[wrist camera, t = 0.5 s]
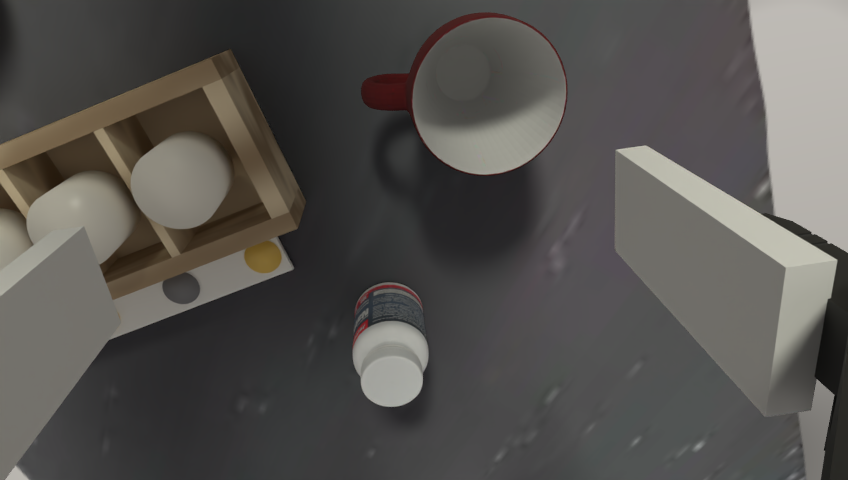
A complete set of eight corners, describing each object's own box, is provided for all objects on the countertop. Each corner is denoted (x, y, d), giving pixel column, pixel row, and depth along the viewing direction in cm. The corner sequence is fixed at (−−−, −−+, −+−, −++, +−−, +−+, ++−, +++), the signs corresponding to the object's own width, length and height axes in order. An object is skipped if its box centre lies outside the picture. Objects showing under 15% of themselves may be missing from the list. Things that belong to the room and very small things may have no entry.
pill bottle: (357, 277, 44) (354, 343, 36) (426, 282, 45) (438, 349, 37) (352, 337, 46) (347, 413, 38) (418, 342, 47) (427, 416, 39)
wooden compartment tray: (-74, 175, 39) (-134, 201, 34) (230, 48, 37) (210, 58, 33) (29, 309, 43) (-11, 348, 39) (306, 201, 42) (297, 228, 37)
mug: (379, 151, 41) (381, 200, 32) (350, 29, 37) (343, 45, 28) (530, 119, 41) (575, 159, 31) (514, -6, 37) (560, -2, 28)
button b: (42, 187, 36) (7, 209, 33) (113, 158, 36) (85, 177, 32) (88, 253, 38) (59, 280, 35) (155, 226, 38) (133, 251, 34)
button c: (138, 148, 36) (113, 166, 32) (210, 119, 35) (192, 133, 32) (179, 217, 38) (159, 241, 34) (248, 189, 37) (235, 211, 34)
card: (71, 302, 43) (68, 306, 43) (271, 225, 42) (270, 228, 42) (99, 341, 45) (96, 345, 44) (293, 267, 44) (293, 270, 43)
